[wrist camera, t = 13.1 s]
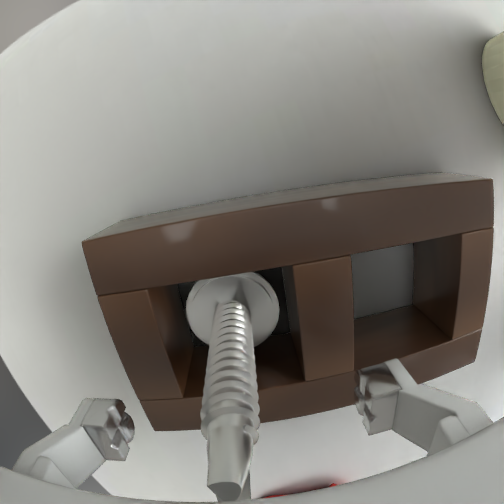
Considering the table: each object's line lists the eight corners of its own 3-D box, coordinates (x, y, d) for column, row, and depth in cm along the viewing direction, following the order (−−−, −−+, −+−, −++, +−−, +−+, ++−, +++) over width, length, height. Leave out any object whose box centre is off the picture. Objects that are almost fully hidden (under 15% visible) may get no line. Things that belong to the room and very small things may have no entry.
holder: (120, 220, 17) (80, 241, 12) (440, 172, 16) (493, 178, 12) (168, 379, 20) (154, 431, 15) (437, 326, 19) (475, 361, 15)
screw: (242, 345, 19) (176, 303, 18) (291, 287, 18) (223, 239, 17) (250, 545, 6) (103, 499, 5) (371, 482, 6) (190, 419, 5)
